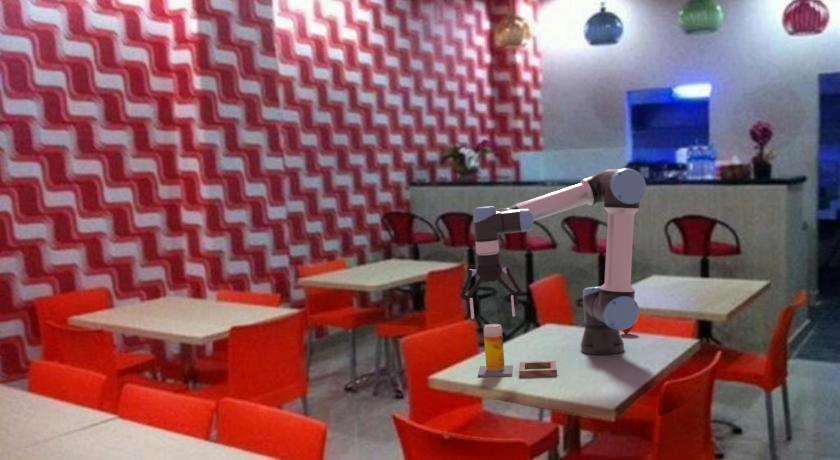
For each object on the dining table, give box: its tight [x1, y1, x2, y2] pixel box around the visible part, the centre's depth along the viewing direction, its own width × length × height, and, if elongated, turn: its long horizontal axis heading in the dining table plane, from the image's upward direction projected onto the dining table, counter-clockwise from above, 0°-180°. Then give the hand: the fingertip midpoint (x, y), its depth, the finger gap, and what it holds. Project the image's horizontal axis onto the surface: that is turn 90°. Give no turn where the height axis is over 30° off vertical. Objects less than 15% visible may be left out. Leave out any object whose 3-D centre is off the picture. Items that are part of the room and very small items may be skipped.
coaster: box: [477, 364, 513, 378], centre depth 257 cm, size 11×11×1 cm
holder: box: [518, 360, 558, 378], centre depth 254 cm, size 12×12×2 cm
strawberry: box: [621, 323, 636, 335], centre depth 301 cm, size 6×8×10 cm
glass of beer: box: [483, 323, 505, 372], centre depth 257 cm, size 6×6×15 cm
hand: (493, 317), depth 256 cm, fingers open, 13 cm apart
